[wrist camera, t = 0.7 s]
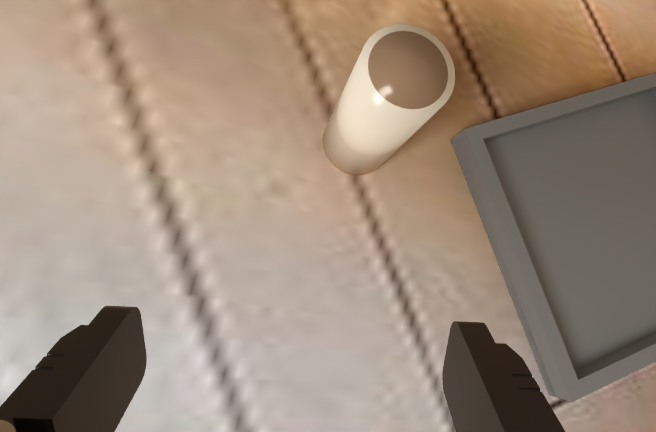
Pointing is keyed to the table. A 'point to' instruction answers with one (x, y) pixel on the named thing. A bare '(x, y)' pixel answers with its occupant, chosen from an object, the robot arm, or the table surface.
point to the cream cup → (388, 97)
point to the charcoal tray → (575, 228)
